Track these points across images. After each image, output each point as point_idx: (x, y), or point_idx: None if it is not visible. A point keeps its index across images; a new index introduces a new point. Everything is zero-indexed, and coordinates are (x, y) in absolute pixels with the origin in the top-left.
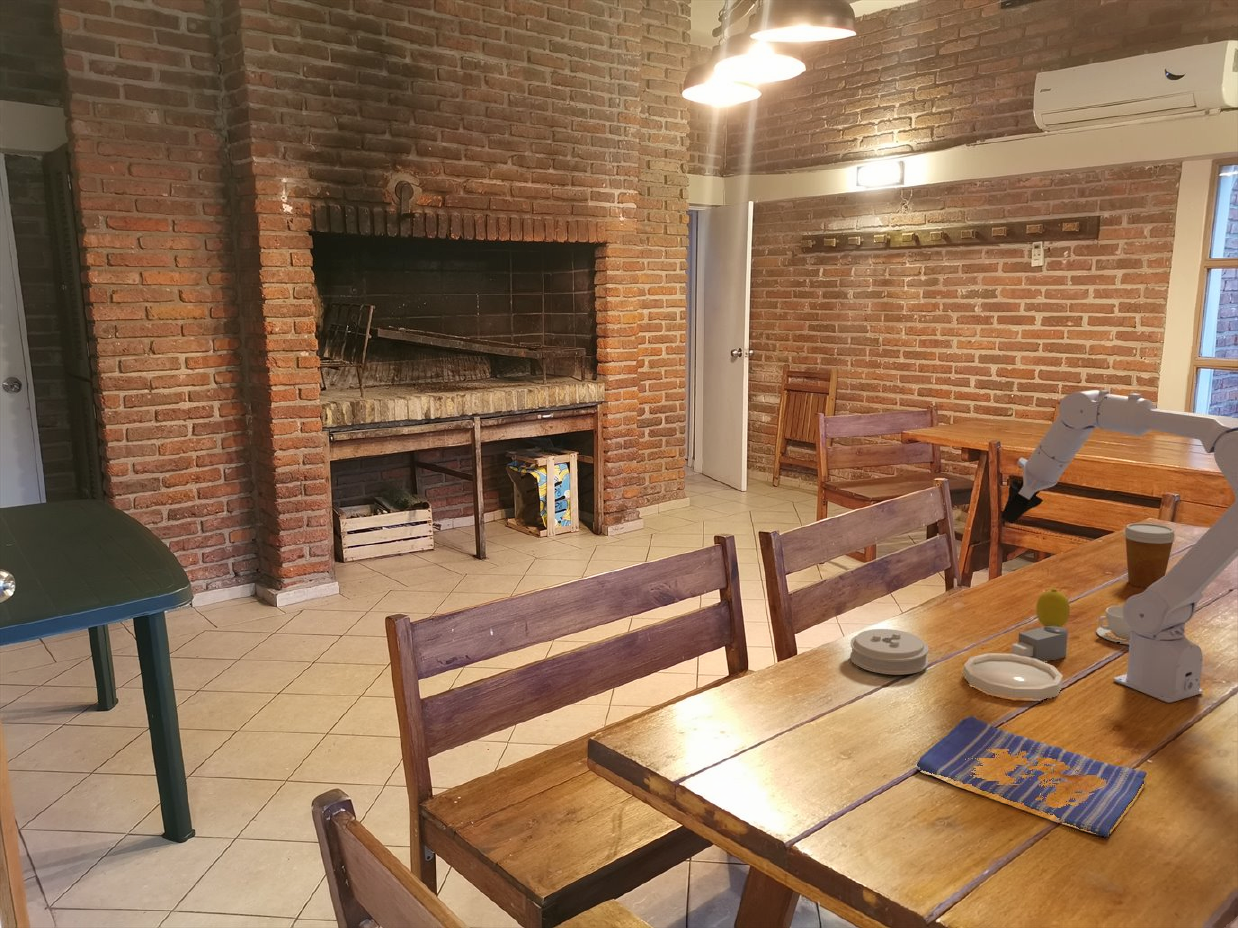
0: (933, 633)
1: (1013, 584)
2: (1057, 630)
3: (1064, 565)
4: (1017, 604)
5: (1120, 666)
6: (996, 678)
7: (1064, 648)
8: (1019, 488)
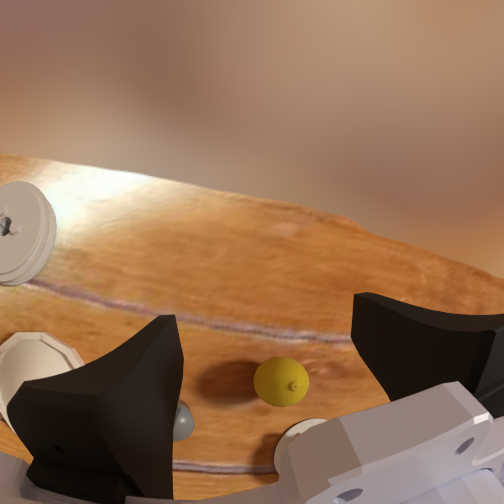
0: (145, 242)
1: (399, 261)
2: (174, 427)
3: (468, 282)
4: (340, 295)
5: (193, 484)
6: (19, 377)
7: None
8: (57, 454)
